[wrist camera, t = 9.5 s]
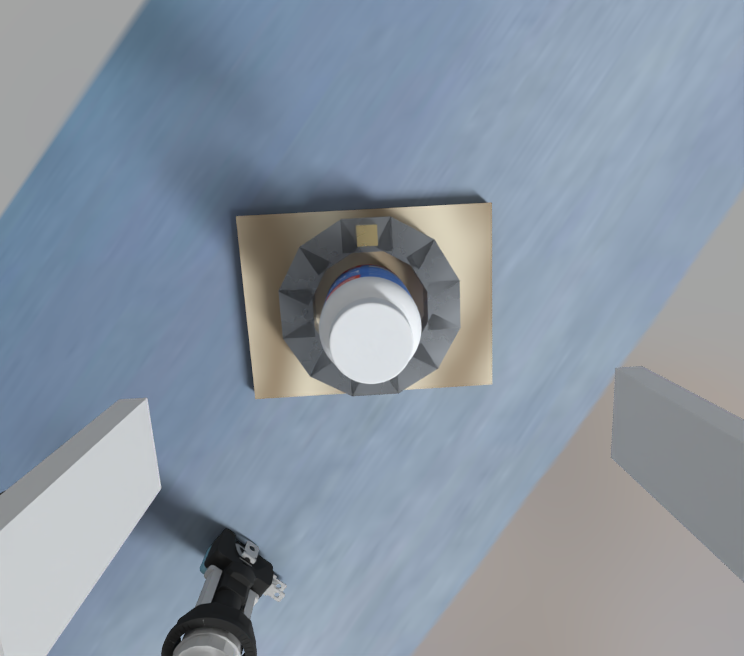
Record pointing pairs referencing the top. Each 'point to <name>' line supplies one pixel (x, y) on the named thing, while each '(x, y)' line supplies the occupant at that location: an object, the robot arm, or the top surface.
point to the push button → (225, 602)
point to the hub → (370, 237)
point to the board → (289, 231)
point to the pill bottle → (369, 324)
